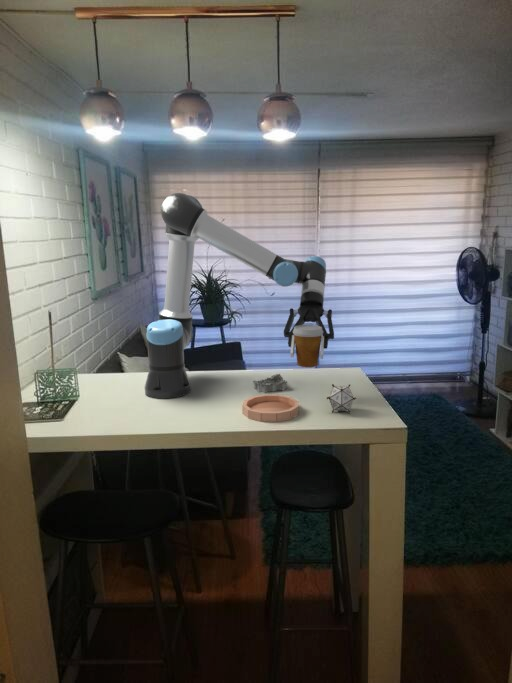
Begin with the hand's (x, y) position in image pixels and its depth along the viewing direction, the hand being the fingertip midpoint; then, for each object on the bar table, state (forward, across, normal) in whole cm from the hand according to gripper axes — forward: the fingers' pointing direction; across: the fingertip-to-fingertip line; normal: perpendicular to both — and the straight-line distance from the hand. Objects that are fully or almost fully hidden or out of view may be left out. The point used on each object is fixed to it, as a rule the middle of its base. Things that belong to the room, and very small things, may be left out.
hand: (306, 355), depth 156 cm
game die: (+16, -11, -5) cm, 20 cm away
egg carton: (+3, +13, -19) cm, 23 cm away
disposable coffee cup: (0, 0, -5) cm, 5 cm away
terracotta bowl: (+18, +9, -3) cm, 21 cm away
